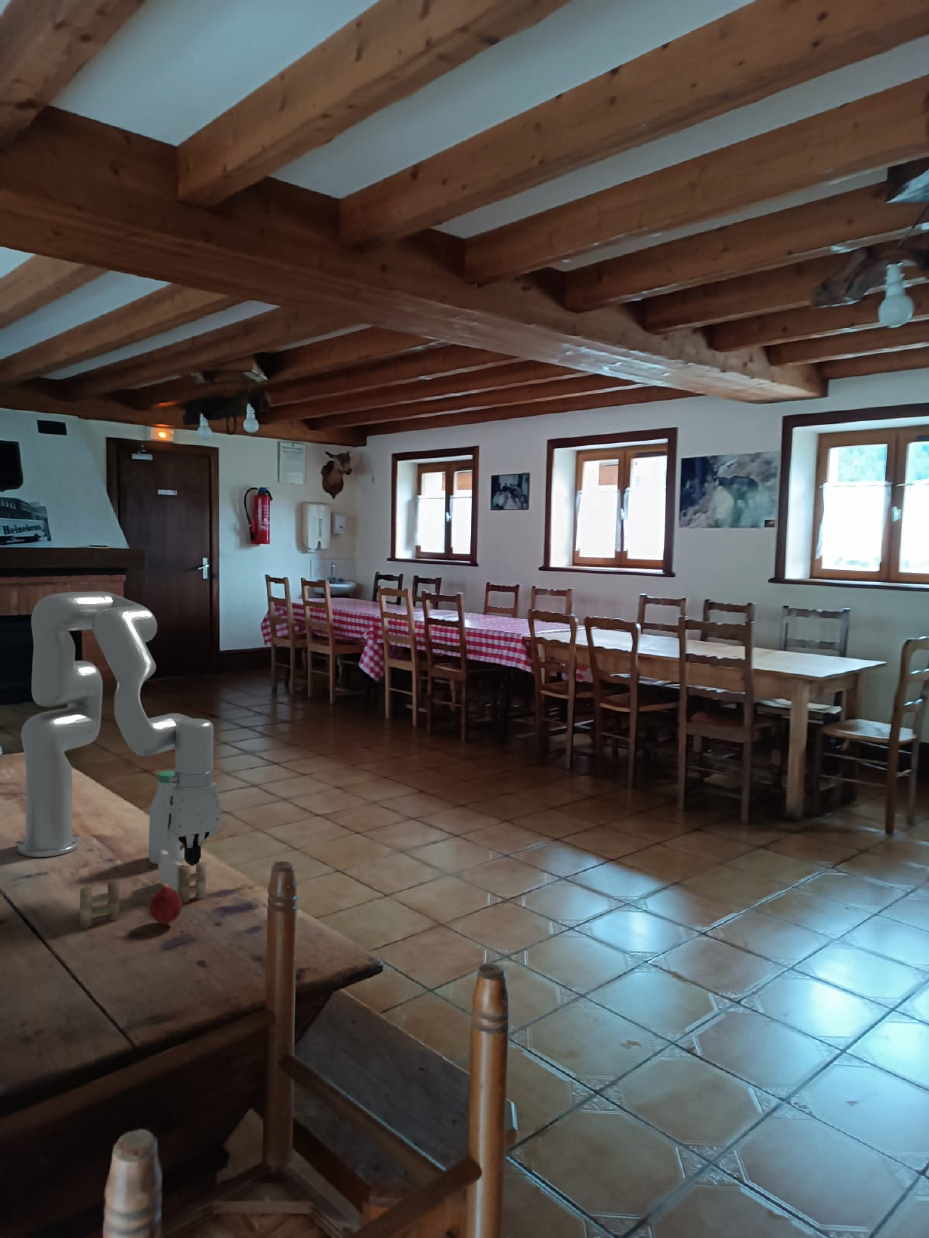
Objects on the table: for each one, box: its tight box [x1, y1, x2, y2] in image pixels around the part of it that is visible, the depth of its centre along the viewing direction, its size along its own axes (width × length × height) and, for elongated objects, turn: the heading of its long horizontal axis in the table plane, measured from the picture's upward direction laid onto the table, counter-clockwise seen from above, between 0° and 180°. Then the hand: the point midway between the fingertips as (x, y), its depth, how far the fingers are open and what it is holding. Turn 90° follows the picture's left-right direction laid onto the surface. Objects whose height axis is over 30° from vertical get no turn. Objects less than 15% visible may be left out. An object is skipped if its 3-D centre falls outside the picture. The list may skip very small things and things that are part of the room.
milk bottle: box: [148, 770, 185, 866], centre depth 192 cm, size 8×8×20 cm
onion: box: [149, 883, 183, 926], centre depth 161 cm, size 6×6×8 cm
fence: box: [79, 861, 207, 929], centre depth 166 cm, size 2×24×7 cm, turn 131°
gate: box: [157, 850, 185, 894], centre depth 176 cm, size 10×1×6 cm, turn 42°
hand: (192, 863), depth 180 cm, fingers closed
